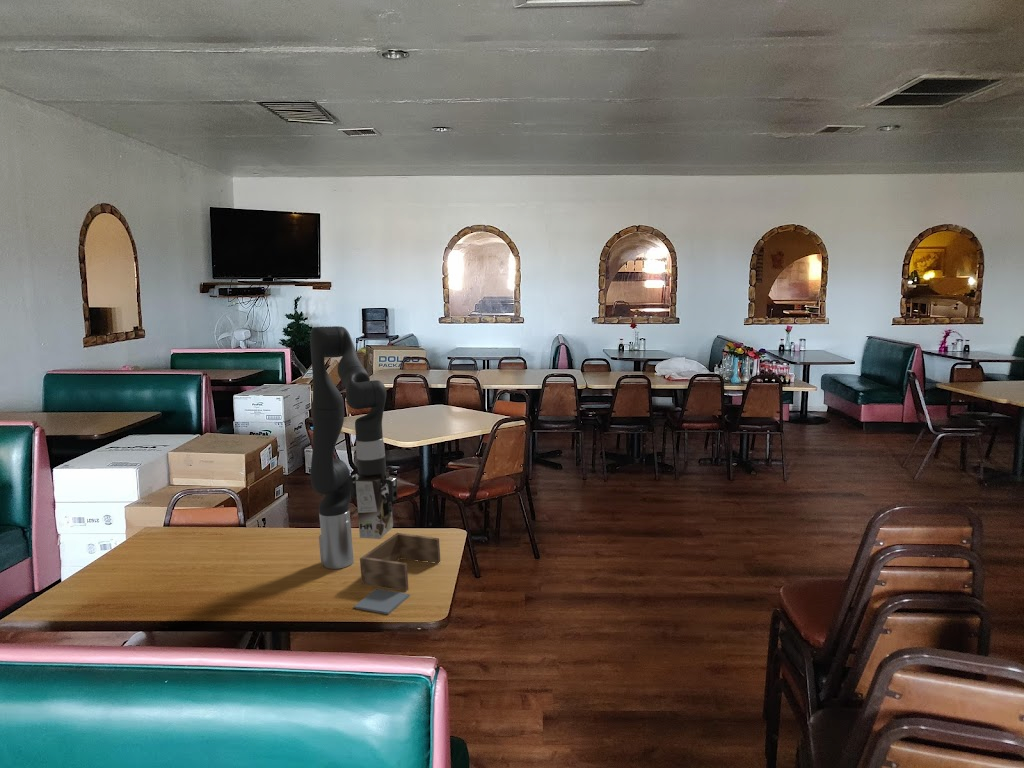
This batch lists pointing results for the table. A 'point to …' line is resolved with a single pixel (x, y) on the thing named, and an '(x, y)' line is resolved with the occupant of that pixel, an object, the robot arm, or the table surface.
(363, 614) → the table surface
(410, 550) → the cubby
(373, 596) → the mat
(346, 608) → the table surface
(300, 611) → the table surface
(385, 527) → the coffee box
